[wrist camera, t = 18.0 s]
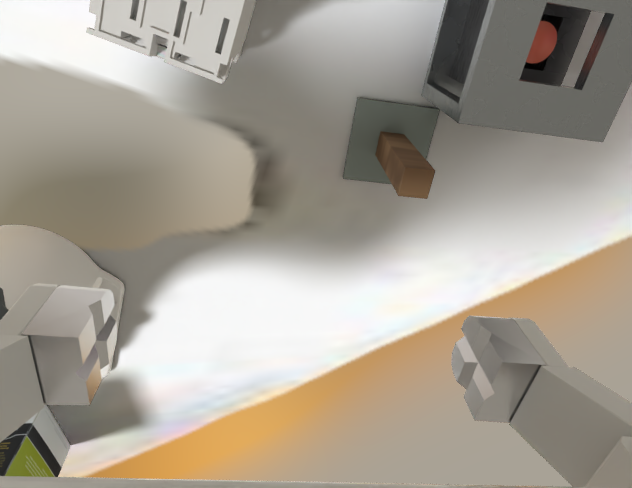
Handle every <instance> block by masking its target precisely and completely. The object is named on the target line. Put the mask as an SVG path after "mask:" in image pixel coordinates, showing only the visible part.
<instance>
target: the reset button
mask: <svg viewBox="0 0 632 488" xmlns="http://www.w3.org/2000/svg"><path fill="white" fill-rule="evenodd" d="M556 42H557V32H556V29H555V27H554V26H553V25H552V24H551V23H549V22H547V21H540V23H539V26H538V29H537V32H536V34H535V37H534V40H533V43H532V46H531V48H530V51H529V54H528V57H527V60H526V62H527V63H538V62H541V61H543V60H544V59H546V58H547V57H548V56H549V55H550V54H551V53H552V51H553V50H554V48H555V45H556Z"/></svg>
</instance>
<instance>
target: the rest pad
mask: <svg viewBox="0 0 632 488" xmlns="http://www.w3.org/2000/svg"><path fill="white" fill-rule="evenodd" d="M439 111H440V109H437V108H429V107H422V106H415V105H408V104H400V103H393V102H386V101H378V100H371V99H364V98H357V104H356V109H355V114H354V120H353V125H352V131H351V136H350V141H349V147H348V152H347V158H346V163H345V168H344V174H343V179H351V180H359V181H368V182H377V183H386V184H392V183H391V182H390V180H389V178H388V176H387V175H386V173H385V171H384V169H383V168H382V166H381V164H380V162H379V161H378V159H377V157H376V155H375V154H376V149H377V145H378V140H379V135H380V131H381V132H390V133H398V134H404V135H405V136H406V137H407V138H408V139H409V141H410V142H411V143H412V144H413V145H414V146H415V148H416V149H417V150H418V151H419V152H420V153H421V155H422V156H423V157H424V158H425V159H426V157H427V154H428V150H429V147H430V143H431V139H432V136H433V132H434V129H435V125H436V122H437V118H438V114H439Z"/></svg>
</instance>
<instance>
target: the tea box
mask: <svg viewBox="0 0 632 488" xmlns="http://www.w3.org/2000/svg"><path fill="white" fill-rule="evenodd" d="M44 406H45V407H44V408H43V409H42V410H40V411H39V412H38V413H37V414H35V415H34V416H33V417H32V418H30V419H29V420H28V421H27V422H25V423H24V424H23V425H22V426H20V427H19V428H18V429H17V430H15V431H14V432H13V433H12V434H10V435H9V436H8V437H7V438H5V439H4V440H3V441H1V442H0V476H24V477H58V475H59V473H60V470H61V468H62V466H63V463H64V461H65V459H66V456H67V454H68V451H69V449H70V444H69V442H68V440H67V438H66V437H65V435H64V433H63V432H62V430H61V428H60V426H59V425H58V423H57V421H56V420H55V418H54V416H53V415H52V413H51V411H50V410H49V408H48V406H47V405H44Z"/></svg>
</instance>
